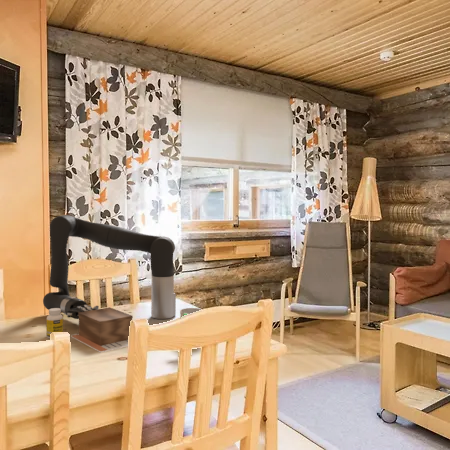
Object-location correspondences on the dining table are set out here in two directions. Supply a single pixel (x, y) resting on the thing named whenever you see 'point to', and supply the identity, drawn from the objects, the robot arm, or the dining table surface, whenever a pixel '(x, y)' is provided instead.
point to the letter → (100, 348)
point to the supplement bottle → (54, 321)
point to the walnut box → (104, 325)
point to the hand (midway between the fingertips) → (94, 315)
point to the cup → (188, 311)
